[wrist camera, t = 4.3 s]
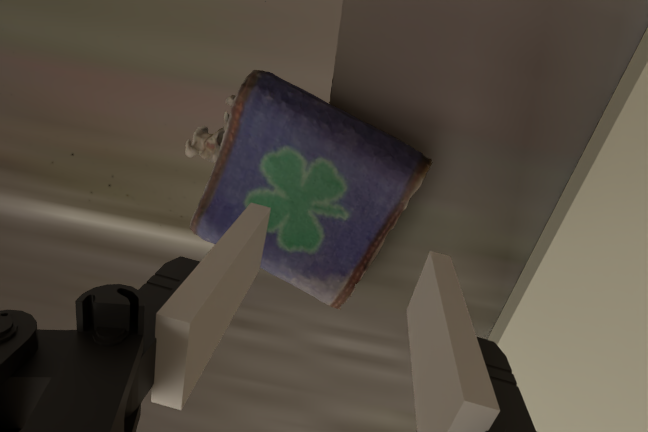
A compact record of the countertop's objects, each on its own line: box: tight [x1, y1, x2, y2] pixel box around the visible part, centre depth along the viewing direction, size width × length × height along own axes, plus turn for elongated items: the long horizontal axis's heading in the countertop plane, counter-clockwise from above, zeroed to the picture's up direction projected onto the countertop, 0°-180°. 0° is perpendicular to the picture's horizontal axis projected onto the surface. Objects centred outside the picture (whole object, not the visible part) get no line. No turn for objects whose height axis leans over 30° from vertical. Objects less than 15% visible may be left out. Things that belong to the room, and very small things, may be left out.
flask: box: [185, 70, 433, 310], centre depth 19 cm, size 9×3×11 cm
